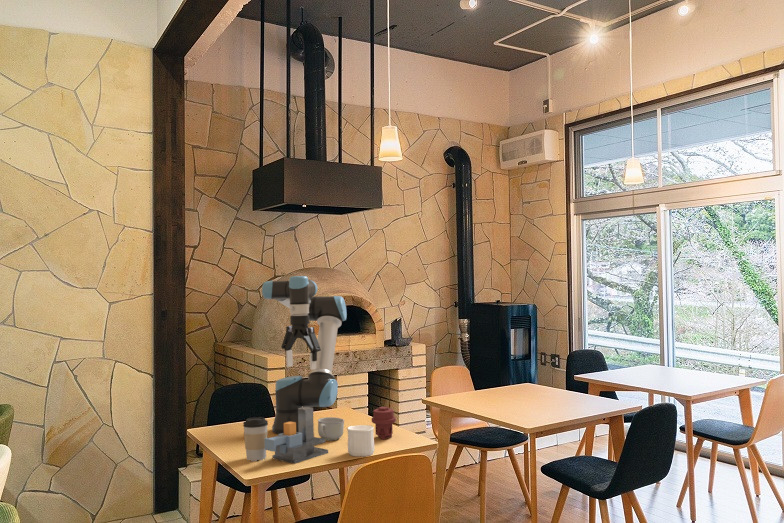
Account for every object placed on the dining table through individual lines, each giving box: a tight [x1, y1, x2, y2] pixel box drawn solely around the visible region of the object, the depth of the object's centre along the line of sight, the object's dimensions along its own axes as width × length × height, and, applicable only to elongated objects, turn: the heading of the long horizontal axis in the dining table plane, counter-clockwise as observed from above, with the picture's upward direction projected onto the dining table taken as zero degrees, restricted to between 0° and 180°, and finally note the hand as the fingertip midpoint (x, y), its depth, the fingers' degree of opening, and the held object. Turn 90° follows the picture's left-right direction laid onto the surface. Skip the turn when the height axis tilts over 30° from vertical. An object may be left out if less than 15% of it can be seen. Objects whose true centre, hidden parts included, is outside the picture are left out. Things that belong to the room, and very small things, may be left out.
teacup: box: [317, 416, 345, 442], centre depth 262 cm, size 14×11×8 cm
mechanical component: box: [371, 406, 397, 440], centre depth 263 cm, size 12×10×10 cm
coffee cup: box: [242, 416, 269, 462], centre depth 237 cm, size 9×9×15 cm
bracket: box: [265, 432, 302, 454], centre depth 232 cm, size 6×13×6 cm, turn 141°
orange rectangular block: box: [284, 422, 296, 436], centre depth 235 cm, size 3×3×12 cm
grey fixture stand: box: [272, 406, 329, 465], centre depth 239 cm, size 12×17×17 cm
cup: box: [346, 424, 375, 457], centre depth 240 cm, size 10×10×10 cm
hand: (301, 367), depth 255 cm, fingers open, 13 cm apart
